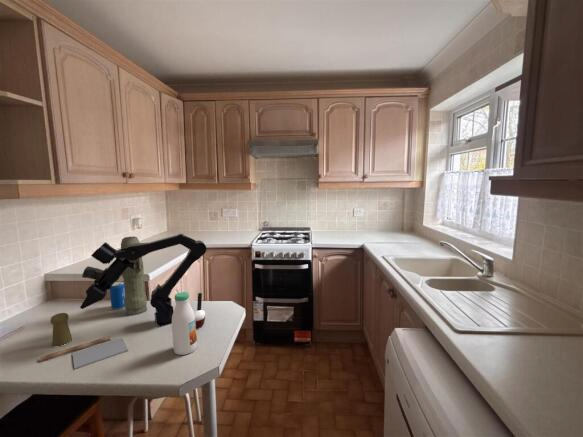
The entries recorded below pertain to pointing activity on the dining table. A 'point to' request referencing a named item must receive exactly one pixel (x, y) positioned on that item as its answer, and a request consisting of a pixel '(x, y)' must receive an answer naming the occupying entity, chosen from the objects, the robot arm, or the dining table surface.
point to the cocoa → (199, 313)
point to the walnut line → (74, 349)
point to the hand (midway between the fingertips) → (84, 303)
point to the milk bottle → (183, 325)
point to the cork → (60, 329)
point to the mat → (99, 353)
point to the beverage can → (117, 295)
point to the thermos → (134, 283)
